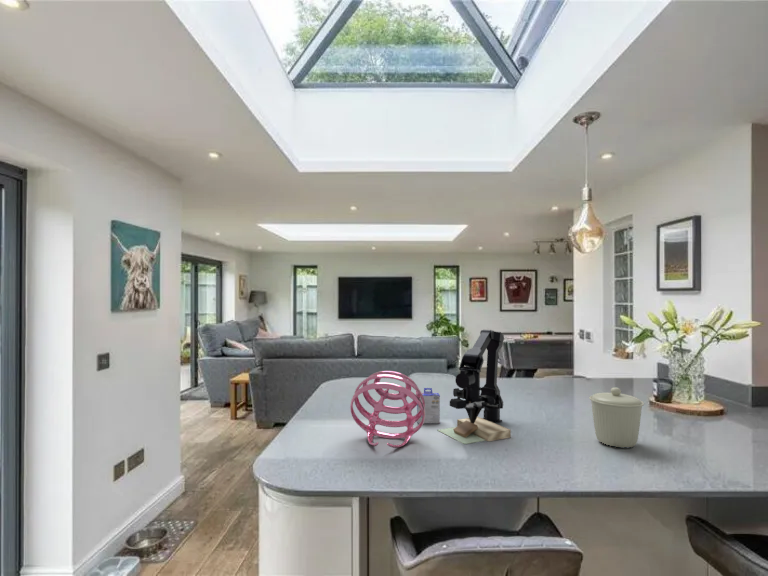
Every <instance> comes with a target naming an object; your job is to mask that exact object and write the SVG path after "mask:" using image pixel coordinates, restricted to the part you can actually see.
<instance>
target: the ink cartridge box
mask: <svg viewBox="0 0 768 576" xmlns="http://www.w3.org/2000/svg"><path fill="white" fill-rule="evenodd" d="M428 390H429V391H428ZM421 393H422V395H423V397H424V401H425V420H424V423H423V424H440V419H441V417H440V416H441V408H440V407H441V404H440V403H441V398H440V397H441V395H440V394H439V392H433V388H432V387H423V392H421ZM420 400H421V402H422V399H421V396H420ZM416 411H417V412H416V414H417V413H418V412H419V411H420V407H419V406H418V404H417V406H416ZM421 421H422V416H421V418H420V419H419V420H417V421H416V422H417V424H420V422H421Z"/></svg>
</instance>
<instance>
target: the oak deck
mask: <svg viewBox="0 0 768 576" xmlns="http://www.w3.org/2000/svg"><path fill="white" fill-rule="evenodd" d="M483 418H484V417H480V416H477V418H476V420H475V422H474V424H476V425H477V426H478V429H477V430H475V431H474V432H472V434H474V435H476V436H478V437H480V438H482V439H485V440H486V441H487V442H492V441H497V440H504V439H510V438H511V436H512V435H511V432H512V431H511V429H510V428H507V427H505V426H502V425H500V424H497V423H496V422H495V423H493V422H490V421H488V420H485V419H483ZM466 420H467V421H469V422H470V419H469V417H466V418H459V419H457V420H456V423H457V424H456V427H457V426H459V425H460V424H462V423H463V422H465V421H466ZM486 441H485V442H486Z"/></svg>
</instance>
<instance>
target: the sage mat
mask: <svg viewBox="0 0 768 576" xmlns="http://www.w3.org/2000/svg"><path fill="white" fill-rule="evenodd" d="M456 427H457V426H455V427H449V428H447V427H446V428H441V429H437V432H439V433H442V435H445V436H446V437H448V438H451V439H453V440H454V441H456V442H459V443H460V444H462V445H469V444H476V443H479V442H486V440H485V439H482V438H480V437H478V436H476V435H474V434H472V433H471V434H470V435H468V436H467V437H465V438H464V437H462V436H460V435H458V434H456V433H454V430H453V429H454V428H456Z"/></svg>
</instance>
